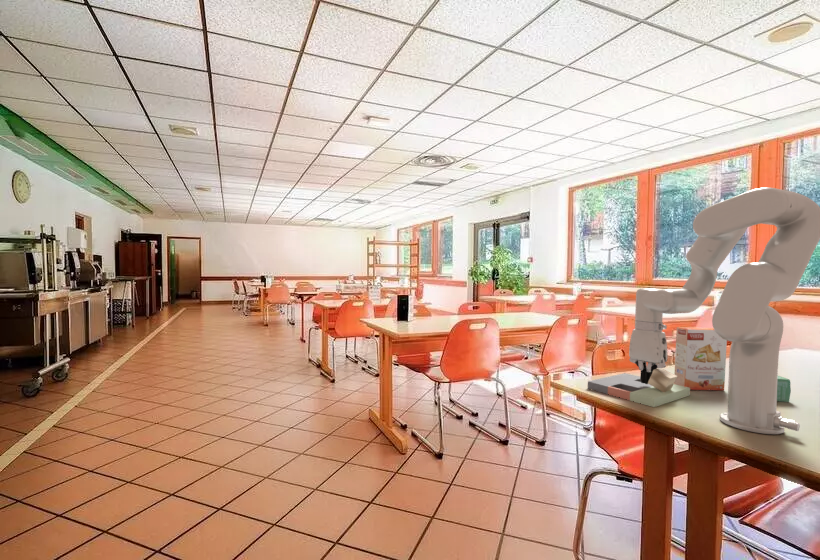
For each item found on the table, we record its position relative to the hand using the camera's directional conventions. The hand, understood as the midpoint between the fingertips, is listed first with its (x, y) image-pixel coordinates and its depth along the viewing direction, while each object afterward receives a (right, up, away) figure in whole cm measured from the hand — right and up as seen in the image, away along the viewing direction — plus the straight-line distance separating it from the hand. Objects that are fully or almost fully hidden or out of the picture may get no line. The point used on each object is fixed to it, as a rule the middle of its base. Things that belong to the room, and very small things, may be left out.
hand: (646, 382), depth 127 cm
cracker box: (+23, -4, +8) cm, 25 cm away
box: (+36, -5, -1) cm, 36 cm away
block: (+2, 0, -3) cm, 4 cm away
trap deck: (-2, -4, +2) cm, 4 cm away
